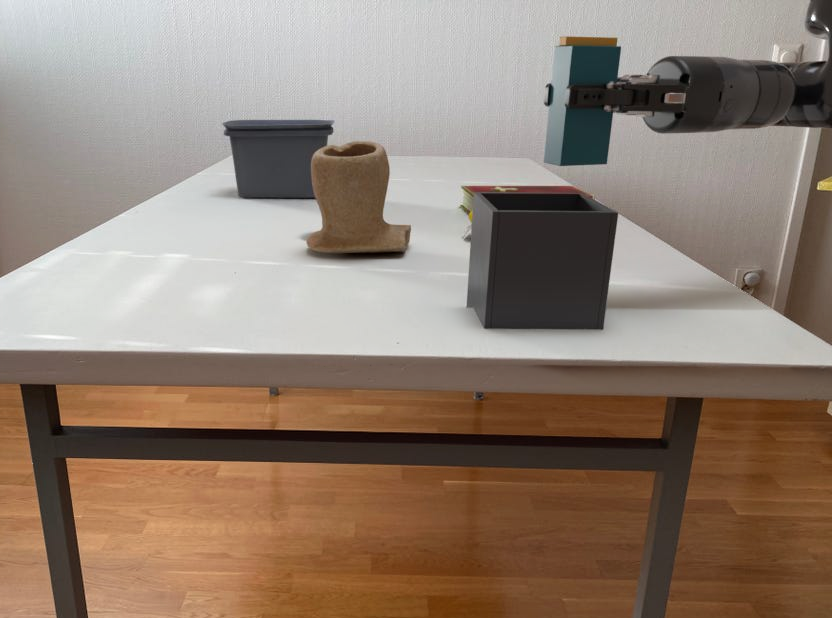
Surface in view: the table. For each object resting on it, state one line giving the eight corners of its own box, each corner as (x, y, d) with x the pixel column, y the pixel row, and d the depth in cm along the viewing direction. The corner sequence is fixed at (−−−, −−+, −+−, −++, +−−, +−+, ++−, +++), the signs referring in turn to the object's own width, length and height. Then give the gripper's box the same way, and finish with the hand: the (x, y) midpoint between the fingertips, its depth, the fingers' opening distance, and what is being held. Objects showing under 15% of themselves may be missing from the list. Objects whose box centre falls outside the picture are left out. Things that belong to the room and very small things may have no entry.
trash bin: (569, 310, 84) (583, 192, 79) (601, 345, 73) (618, 212, 69) (466, 310, 84) (473, 191, 79) (483, 344, 73) (492, 211, 69)
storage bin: (222, 200, 149) (218, 122, 144) (234, 188, 164) (231, 117, 159) (333, 201, 149) (333, 124, 144) (335, 189, 164) (335, 118, 159)
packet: (590, 161, 81) (604, 38, 76) (608, 164, 78) (624, 37, 74) (542, 162, 79) (553, 36, 75) (559, 166, 76) (572, 36, 72)
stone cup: (305, 263, 103) (304, 146, 98) (306, 243, 114) (305, 137, 109) (419, 262, 104) (424, 146, 98) (409, 243, 115) (413, 138, 109)
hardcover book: (592, 218, 135) (595, 194, 134) (473, 219, 134) (475, 194, 132) (570, 206, 146) (572, 184, 145) (460, 207, 145) (461, 184, 143)
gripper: (657, 56, 86) (521, 54, 80) (760, 56, 73) (607, 53, 68) (647, 127, 88) (515, 130, 83) (744, 138, 76) (596, 142, 70)
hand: (557, 95), depth 75 cm, fingers closed on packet, 3 cm apart
